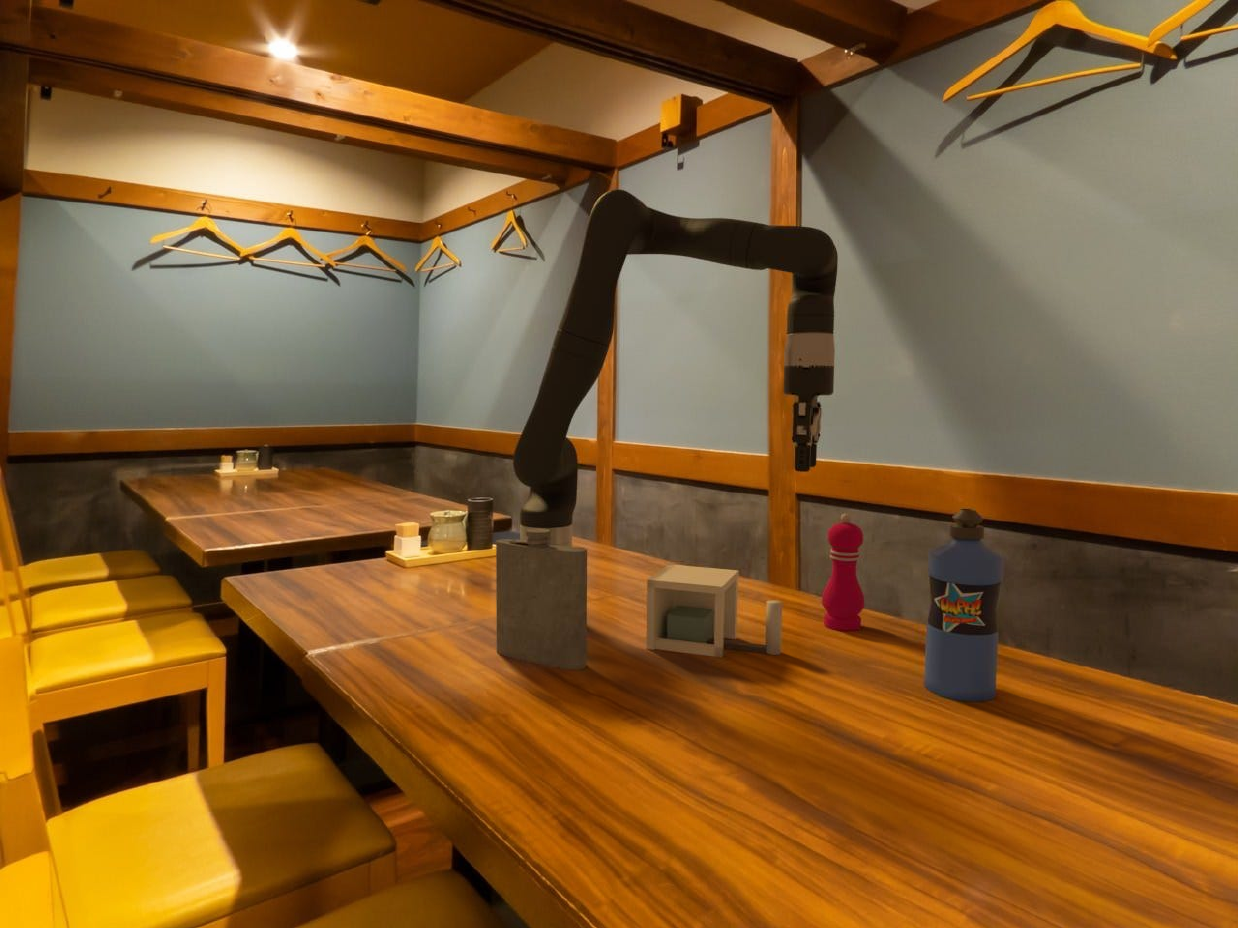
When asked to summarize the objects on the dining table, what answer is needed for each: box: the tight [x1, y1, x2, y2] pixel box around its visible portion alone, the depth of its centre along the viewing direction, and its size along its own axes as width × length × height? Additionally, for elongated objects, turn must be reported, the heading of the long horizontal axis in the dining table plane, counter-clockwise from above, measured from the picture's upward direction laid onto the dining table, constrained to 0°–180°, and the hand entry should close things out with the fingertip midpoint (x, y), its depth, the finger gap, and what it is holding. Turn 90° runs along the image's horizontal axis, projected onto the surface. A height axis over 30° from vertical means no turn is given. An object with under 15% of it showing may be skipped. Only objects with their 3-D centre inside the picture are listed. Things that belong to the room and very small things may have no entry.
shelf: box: [645, 564, 739, 658], centre depth 125 cm, size 12×12×11 cm
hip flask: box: [495, 528, 588, 671], centre depth 115 cm, size 16×4×20 cm, turn 61°
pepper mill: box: [821, 513, 865, 632], centre depth 134 cm, size 7×7×20 cm
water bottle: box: [923, 508, 1005, 703], centre depth 105 cm, size 9×9×25 cm
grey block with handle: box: [666, 600, 783, 656], centre depth 123 cm, size 18×6×8 cm, turn 70°
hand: (805, 469), depth 120 cm, fingers open, 8 cm apart
